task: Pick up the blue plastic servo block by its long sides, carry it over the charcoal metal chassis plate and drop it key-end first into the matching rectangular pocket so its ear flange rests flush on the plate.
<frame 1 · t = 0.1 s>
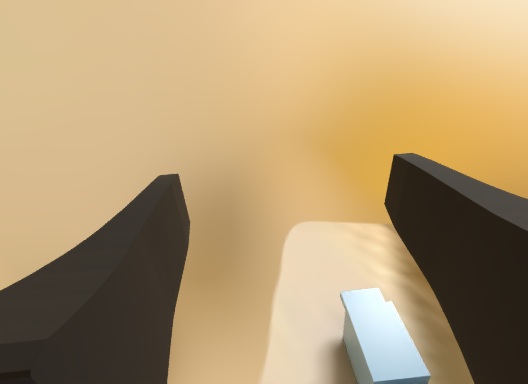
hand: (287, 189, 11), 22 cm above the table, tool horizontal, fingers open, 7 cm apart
servo: (377, 369, 27), on the table
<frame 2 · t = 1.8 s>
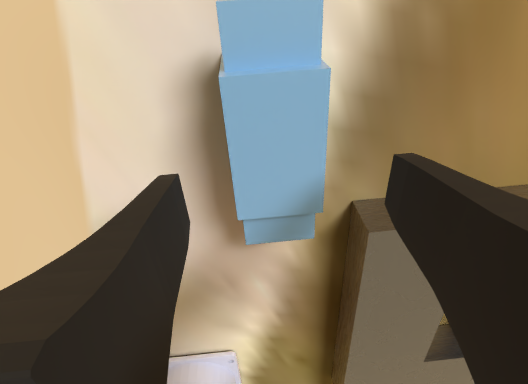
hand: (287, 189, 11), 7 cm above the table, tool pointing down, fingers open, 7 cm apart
chassis: (446, 298, 27), on the table
servo: (268, 115, 17), on the table
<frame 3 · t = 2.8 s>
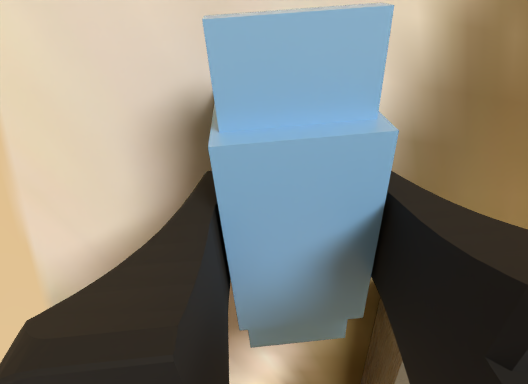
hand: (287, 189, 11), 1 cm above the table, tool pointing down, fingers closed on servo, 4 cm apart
chassis: (490, 364, 22), on the table
servo: (282, 168, 12), on the table, touching gripper
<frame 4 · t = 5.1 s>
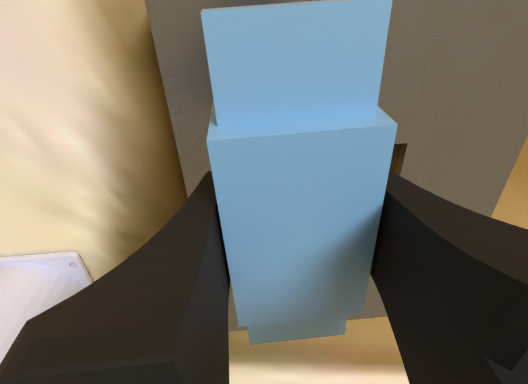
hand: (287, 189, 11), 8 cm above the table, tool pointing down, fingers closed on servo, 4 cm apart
chassis: (336, 179, 21), on the table
servo: (281, 164, 12), point 7 cm above the table, touching gripper
when the fingers open (4 cm above the table, at t = 7.2 s): servo drops 2 cm, resting on chassis.
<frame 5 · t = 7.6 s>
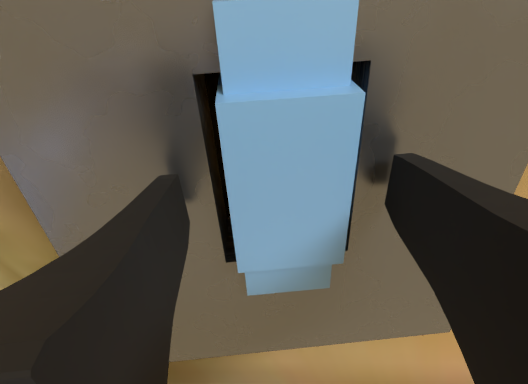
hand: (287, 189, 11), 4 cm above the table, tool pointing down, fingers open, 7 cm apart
chassis: (276, 143, 14), on the table
servo: (276, 139, 14), resting on chassis
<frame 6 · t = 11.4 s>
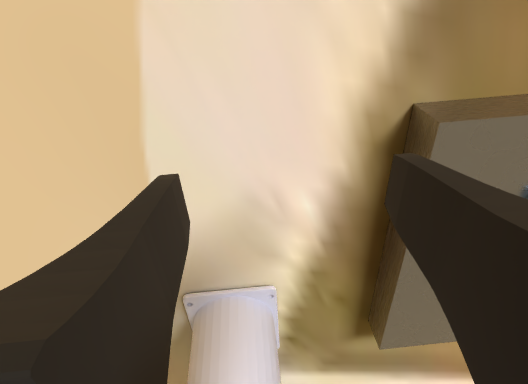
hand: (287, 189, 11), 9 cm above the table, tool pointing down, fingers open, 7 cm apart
chassis: (494, 227, 26), on the table
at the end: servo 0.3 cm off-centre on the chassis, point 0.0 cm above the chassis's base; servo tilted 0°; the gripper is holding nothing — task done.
